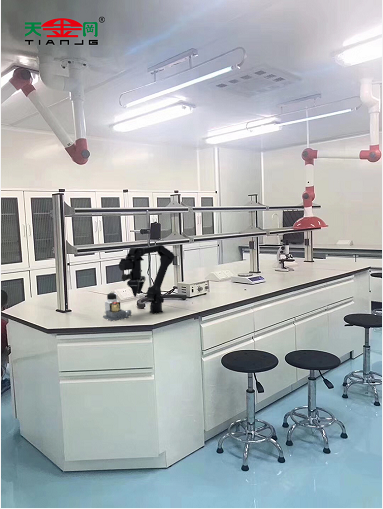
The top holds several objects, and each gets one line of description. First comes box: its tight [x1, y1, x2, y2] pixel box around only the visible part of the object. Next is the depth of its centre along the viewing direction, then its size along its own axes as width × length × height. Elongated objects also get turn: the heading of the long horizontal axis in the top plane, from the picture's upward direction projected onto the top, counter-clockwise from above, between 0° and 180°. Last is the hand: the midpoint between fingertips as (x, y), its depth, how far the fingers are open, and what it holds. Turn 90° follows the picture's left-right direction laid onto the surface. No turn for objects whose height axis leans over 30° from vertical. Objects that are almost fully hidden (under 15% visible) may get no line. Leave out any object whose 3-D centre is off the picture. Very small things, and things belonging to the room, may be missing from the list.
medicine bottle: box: [104, 292, 121, 313], centre depth 252 cm, size 7×7×12 cm
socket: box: [102, 308, 132, 322], centre depth 240 cm, size 15×11×4 cm
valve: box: [112, 302, 119, 313], centre depth 238 cm, size 4×4×8 cm
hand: (137, 295), depth 238 cm, fingers open, 9 cm apart
